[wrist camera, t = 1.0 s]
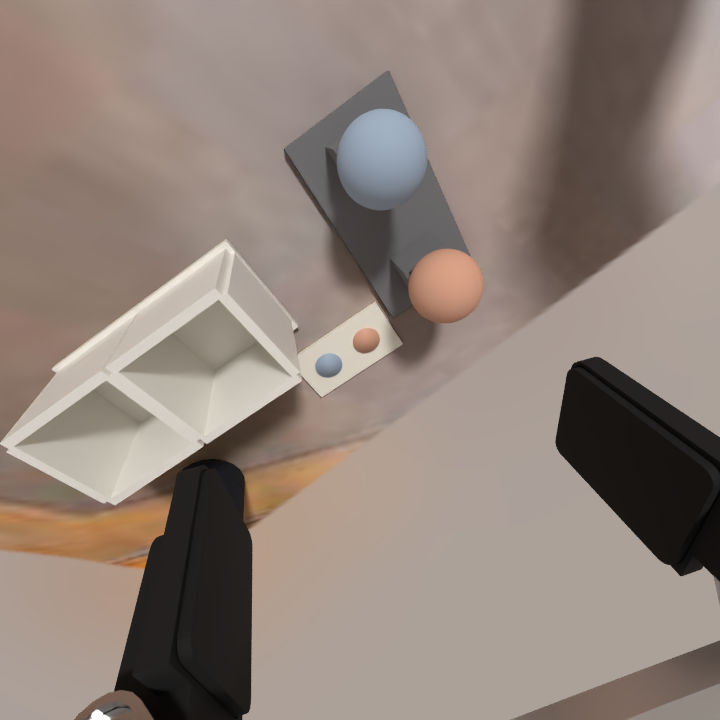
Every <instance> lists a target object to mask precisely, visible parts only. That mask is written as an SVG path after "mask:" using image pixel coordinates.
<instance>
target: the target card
mask: <svg viewBox="0 0 720 720" xmlns="http://www.w3.org/2000/svg"><path fill="white" fill-rule="evenodd" d="M402 344H403V343H402V342H401V340H400V339H399V337H398V336H397V334H396V333H395V331H394V329H393V328H392V326H391V325H390V323H389V322H388V320H387V319H386V317H385V316H384V314H383V313H382V311H381V310H380V308H379V307H378V305H377V304H376V302H374V303H372V304H371V305H369V306H368V307H366V308H365V309H363V310H362V311H360V312H359V313H357V314H356V315H354V316H353V317H351V318H350V319H348V320H347V321H346V322H344V323H343V324H341V325H340V326H338V327H337V328H335V329H334V330H332V331H331V332H329V333H328V334H326V335H325V336H323V337H322V338H320V339H319V340H317V341H316V342H314V343H313V344H312V345H310V346H309V347H307V348H306V349H304V350H303V351H301V352H300V353H298V354H297V355H298V361H299V367H300V372H301V376H302V377H303V378H304V379H305V380H306V381H307V382H308V383H309V384H310V385H311V386H312V388H313V389H314V390H315V391H316V392H317V393H318V394H319V395H320V396H321V397H323V396H325V395H326V394H328V393H329V392H331V391H332V390H334V389H335V388H337V387H338V386H340V385H341V384H343V383H344V382H346V381H348V380H349V379H351V378H352V377H354V376H355V375H357V374H358V373H360V372H361V371H363V370H364V369H366V368H367V367H369V366H370V365H372V364H373V363H375V362H377V361H378V360H380V359H381V358H383V357H384V356H386V355H387V354H389V353H390V352H392V351H393V350H395V349H396V348H398V347H399V346H401V345H402Z"/></svg>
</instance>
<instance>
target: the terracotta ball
mask: <svg viewBox="0 0 720 720" xmlns="http://www.w3.org/2000/svg"><path fill="white" fill-rule="evenodd" d="M408 292H409V297H410V300H411V302H412V304H413V306H414V308H415V309H416V311H417V312H418V313H419V314H420V315H422V316H423V317H424V318H426V319H428V320H430V321H433V322H437V323H452V322H456V321H459V320H461V319H463V318H465V317H466V316H468V315H469V314H470V313H471V312H472V311H473V310H474V309H475V308H476V306H477V305H478V303H479V301H480V299H481V296H482V293H483V276H482V273H481V270H480V268H479V266H478V265H477V263H476V262H475V261H474V260H473V259H472V258H471V257H470V256H469V255H467V254H466V253H464V252H461V251H459V250H455V249H440V250H436V251H433V252H431V253H429V254H427V255H426V256H424V257H423V258H422V259H421V260H420V261H419V262H418V263H417V264H416V265H415V267H414V268H413V270H412V272H411V275H410V278H409V284H408Z"/></svg>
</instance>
